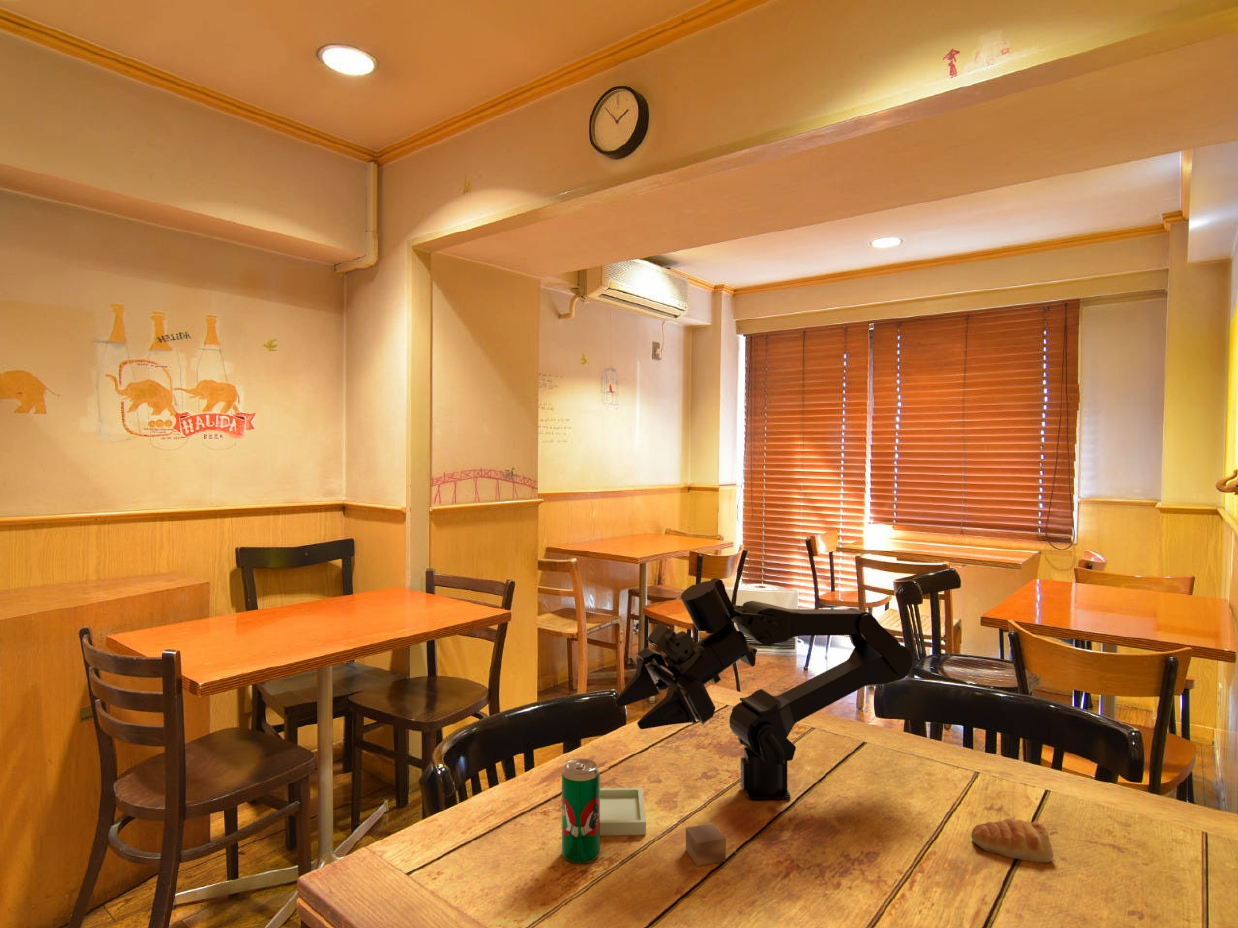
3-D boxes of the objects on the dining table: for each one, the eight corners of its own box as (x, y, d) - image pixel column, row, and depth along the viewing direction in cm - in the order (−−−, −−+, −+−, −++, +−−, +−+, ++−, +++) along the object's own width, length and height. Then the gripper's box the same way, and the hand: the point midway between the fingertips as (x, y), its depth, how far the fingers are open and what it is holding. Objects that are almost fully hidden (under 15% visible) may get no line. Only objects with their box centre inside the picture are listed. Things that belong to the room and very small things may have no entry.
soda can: (602, 845, 97) (602, 757, 97) (597, 866, 92) (597, 774, 92) (565, 843, 97) (565, 756, 97) (558, 864, 92) (558, 772, 92)
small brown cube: (713, 845, 97) (713, 823, 97) (725, 861, 93) (725, 838, 93) (685, 849, 96) (685, 827, 96) (697, 866, 92) (697, 843, 92)
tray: (642, 799, 110) (642, 787, 110) (646, 834, 99) (646, 822, 99) (575, 799, 110) (575, 788, 110) (571, 835, 99) (571, 822, 99)
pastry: (979, 858, 94) (979, 829, 94) (965, 832, 100) (965, 805, 100) (1058, 866, 92) (1058, 837, 92) (1038, 839, 98) (1038, 812, 98)
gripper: (663, 599, 116) (583, 652, 112) (718, 625, 99) (625, 689, 94) (692, 656, 118) (614, 710, 114) (750, 691, 101) (661, 757, 96)
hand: (626, 714), depth 104 cm, fingers open, 9 cm apart
